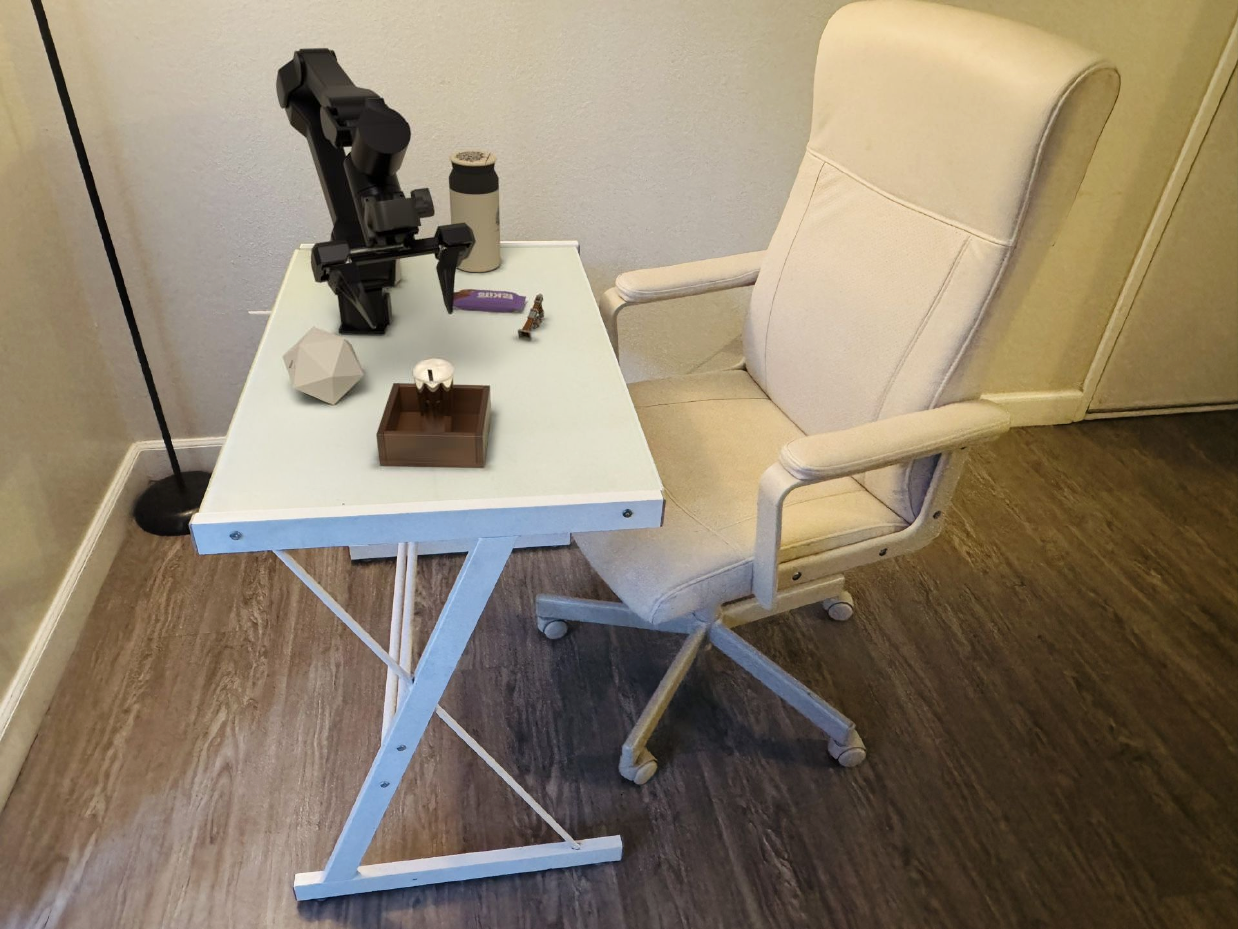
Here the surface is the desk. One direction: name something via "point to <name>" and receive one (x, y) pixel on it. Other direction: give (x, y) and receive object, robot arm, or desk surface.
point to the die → (323, 365)
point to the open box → (414, 447)
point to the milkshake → (434, 394)
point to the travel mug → (476, 206)
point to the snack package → (488, 300)
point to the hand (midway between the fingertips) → (413, 320)
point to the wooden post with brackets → (532, 318)
